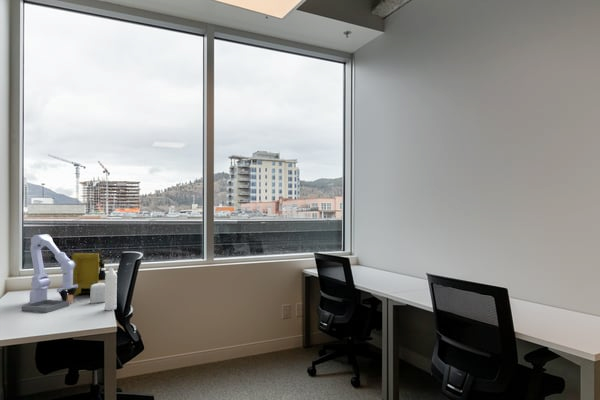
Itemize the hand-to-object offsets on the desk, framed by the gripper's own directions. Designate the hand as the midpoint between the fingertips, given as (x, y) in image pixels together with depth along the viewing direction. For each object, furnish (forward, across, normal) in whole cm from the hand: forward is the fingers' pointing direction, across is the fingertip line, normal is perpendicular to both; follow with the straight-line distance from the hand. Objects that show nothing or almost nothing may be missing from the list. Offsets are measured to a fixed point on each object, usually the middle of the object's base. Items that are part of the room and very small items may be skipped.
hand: (67, 300), depth 241 cm
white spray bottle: (+2, -6, -37) cm, 37 cm away
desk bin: (+1, -14, +2) cm, 14 cm away
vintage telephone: (+2, +24, +3) cm, 24 cm away
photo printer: (+2, +7, -18) cm, 19 cm away
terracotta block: (+1, 0, 0) cm, 1 cm away
